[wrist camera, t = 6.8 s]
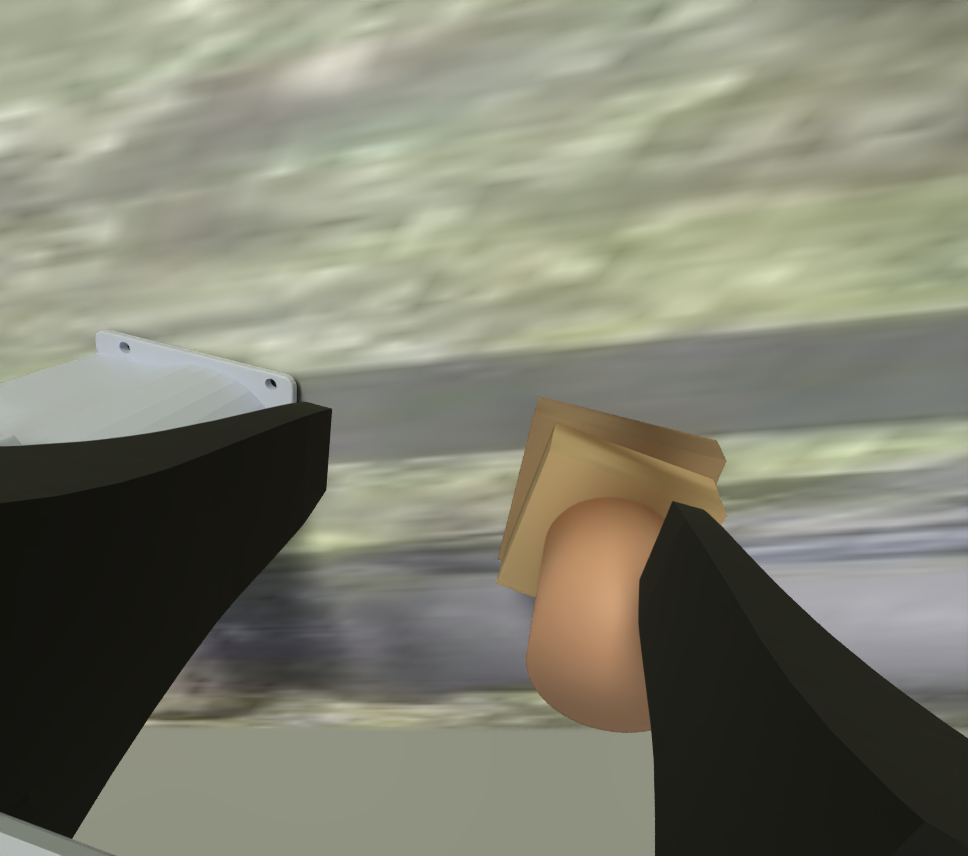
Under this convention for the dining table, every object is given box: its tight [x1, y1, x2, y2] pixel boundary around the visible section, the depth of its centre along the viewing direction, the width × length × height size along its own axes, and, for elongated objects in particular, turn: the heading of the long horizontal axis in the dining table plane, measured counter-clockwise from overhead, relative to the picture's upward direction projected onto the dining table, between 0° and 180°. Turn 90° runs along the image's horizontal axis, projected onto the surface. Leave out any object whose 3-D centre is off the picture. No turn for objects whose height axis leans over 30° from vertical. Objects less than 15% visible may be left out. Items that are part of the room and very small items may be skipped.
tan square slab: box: [498, 397, 726, 561], centre depth 22 cm, size 7×7×2 cm
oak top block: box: [496, 423, 727, 598], centre depth 19 cm, size 6×6×2 cm
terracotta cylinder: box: [526, 497, 664, 733], centre depth 16 cm, size 5×5×5 cm
